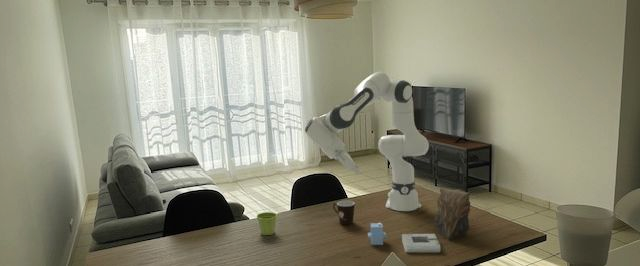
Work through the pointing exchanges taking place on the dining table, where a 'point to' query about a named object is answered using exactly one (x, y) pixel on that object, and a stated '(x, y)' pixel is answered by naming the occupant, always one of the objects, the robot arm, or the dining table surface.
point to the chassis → (420, 243)
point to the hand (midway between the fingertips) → (357, 171)
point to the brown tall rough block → (452, 213)
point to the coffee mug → (345, 212)
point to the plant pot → (267, 222)
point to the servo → (377, 234)
